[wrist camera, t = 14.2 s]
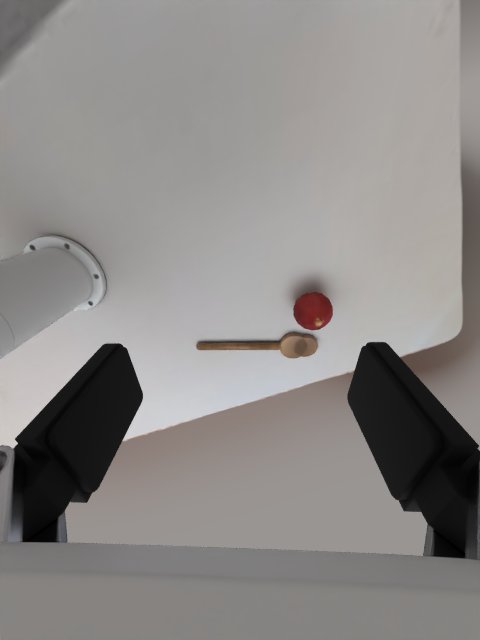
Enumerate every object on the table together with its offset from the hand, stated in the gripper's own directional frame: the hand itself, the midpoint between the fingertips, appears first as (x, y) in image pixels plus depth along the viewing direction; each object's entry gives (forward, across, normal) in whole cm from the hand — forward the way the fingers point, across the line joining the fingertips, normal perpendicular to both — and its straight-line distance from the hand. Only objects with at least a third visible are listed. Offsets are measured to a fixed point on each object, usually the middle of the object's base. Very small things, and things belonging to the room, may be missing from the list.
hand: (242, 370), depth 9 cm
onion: (+28, -10, +10) cm, 32 cm away
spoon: (+28, -2, +19) cm, 34 cm away
